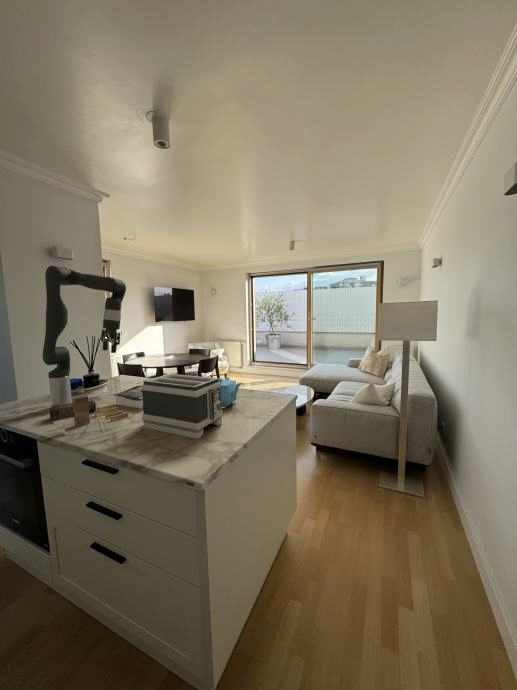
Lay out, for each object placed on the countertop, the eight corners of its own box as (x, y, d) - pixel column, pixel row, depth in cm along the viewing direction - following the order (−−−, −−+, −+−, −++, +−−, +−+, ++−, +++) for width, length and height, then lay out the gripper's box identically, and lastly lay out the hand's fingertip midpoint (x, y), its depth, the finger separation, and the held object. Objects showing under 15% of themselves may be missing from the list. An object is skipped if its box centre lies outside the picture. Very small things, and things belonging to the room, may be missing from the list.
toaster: (206, 442, 108) (204, 389, 106) (142, 428, 123) (139, 381, 121) (231, 425, 125) (229, 378, 123) (171, 414, 140) (169, 373, 137)
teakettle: (199, 403, 157) (198, 377, 156) (230, 398, 166) (229, 373, 165) (210, 413, 141) (209, 384, 139) (244, 406, 150) (243, 379, 148)
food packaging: (173, 388, 161) (140, 399, 141) (173, 401, 162) (141, 413, 142) (142, 384, 173) (108, 393, 153) (143, 396, 174) (109, 407, 154)
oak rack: (91, 418, 135) (90, 408, 135) (118, 411, 145) (117, 401, 145) (106, 426, 126) (105, 415, 125) (134, 417, 136) (133, 407, 135)
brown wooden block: (74, 426, 124) (72, 397, 123) (87, 423, 128) (84, 395, 127) (77, 428, 123) (75, 399, 121) (90, 424, 127) (87, 396, 125)
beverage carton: (97, 414, 142) (96, 402, 141) (49, 423, 131) (48, 409, 131) (96, 410, 148) (95, 398, 148) (51, 418, 138) (50, 405, 137)
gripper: (97, 317, 140) (94, 349, 141) (111, 319, 132) (108, 353, 133) (112, 318, 146) (109, 349, 147) (126, 321, 138) (123, 353, 139)
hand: (109, 351), depth 140 cm, fingers open, 8 cm apart
